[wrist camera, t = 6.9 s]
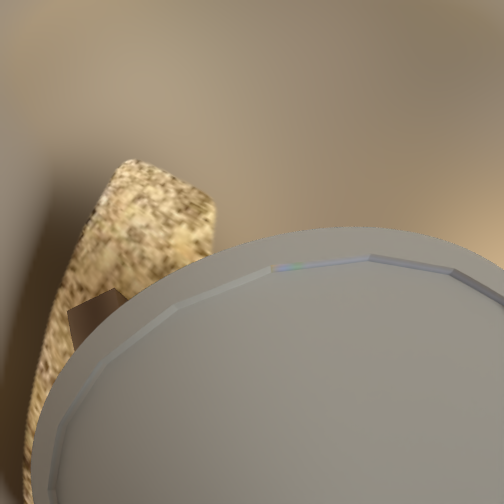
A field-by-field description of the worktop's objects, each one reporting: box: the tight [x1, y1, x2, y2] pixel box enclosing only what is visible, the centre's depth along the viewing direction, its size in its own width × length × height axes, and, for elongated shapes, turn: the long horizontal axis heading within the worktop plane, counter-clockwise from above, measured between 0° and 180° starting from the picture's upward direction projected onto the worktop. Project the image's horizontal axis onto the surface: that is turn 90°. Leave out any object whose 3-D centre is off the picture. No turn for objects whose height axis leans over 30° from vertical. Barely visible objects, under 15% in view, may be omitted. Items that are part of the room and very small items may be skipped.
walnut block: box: [67, 288, 129, 351], centre depth 18 cm, size 4×4×4 cm
